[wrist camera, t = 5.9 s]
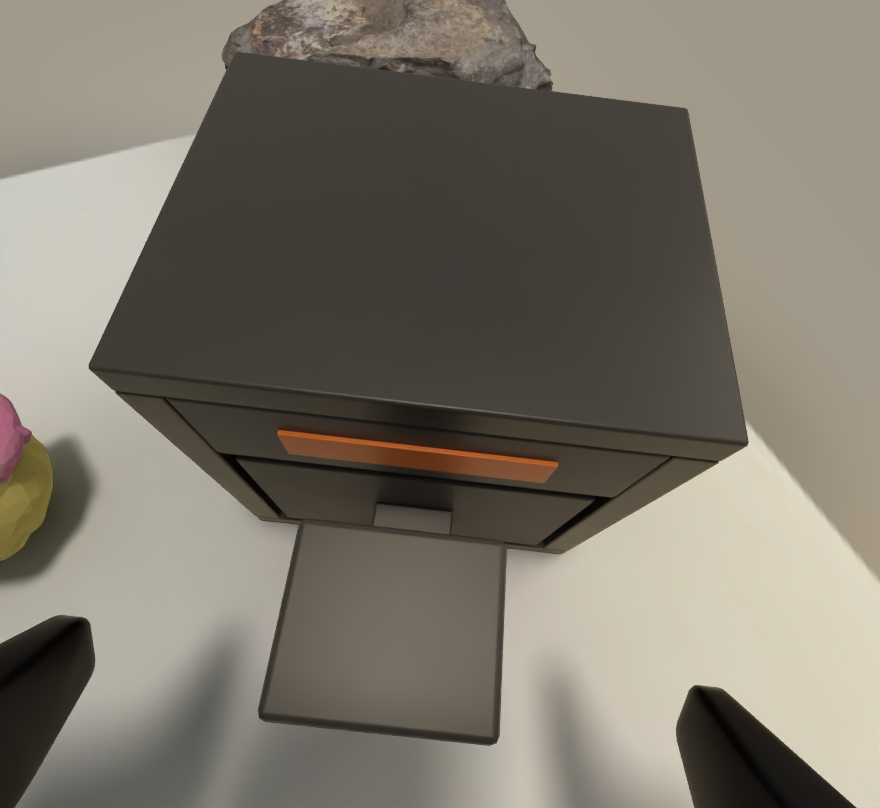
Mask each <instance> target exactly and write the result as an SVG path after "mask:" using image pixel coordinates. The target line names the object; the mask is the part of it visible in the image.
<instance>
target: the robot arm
mask: <svg viewBox="0 0 880 808" xmlns="http://www.w3.org/2000/svg"><path fill="white" fill-rule="evenodd" d="M94 667H95V653H94V646H93V639H92V632H91V626H90V623H89V621H88V620H87V619H86V618H83V617H75V616H66V615H58V616H54V617H52V618H50V619H48V620H46V621H44V622H42V623H40V624H38V625H36V626H34V627H32V628H30V629H28V630H26V631H24V632H22V633H20V634H18V635H16V636H14V637H13V638H11V639H9V640H7V641H5V642H3V643H1V644H0V808H15V806H16V805H17V803H18V802H19V800H20V799H21V797H22V796H23V794H24V793H25V791H26V789H27V788H28V786H29V784H30V783H31V781H32V779H33V778H34V776H35V774H36V773H37V771H38V769H39V767H40V766H41V764H42V762H43V760H44V759H45V757H46V755H47V753H48V752H49V750H50V748H51V746H52V745H53V743H54V741H55V739H56V738H57V736H58V734H59V732H60V731H61V729H62V727H63V725H64V724H65V722H66V720H67V718H68V717H69V715H70V713H71V711H72V710H73V708H74V706H75V704H76V702H77V701H78V699H79V697H80V695H81V694H82V692H83V690H84V688H85V687H86V685H87V683H88V681H89V680H90V678H91V676H92V673H93V670H94ZM676 737H677V743H678V747H679V751H680V754H681V758H682V762H683V766H684V770H685V773H686V777H687V781H688V785H689V789H690V793H691V796H692V800H693V804H694V808H856V807H855V806H854V805H853V804H852V803H850V802H849V801H848V800H847V799H846V798H845V797H844V796H843V795H841V794H840V793H839V792H838V791H837V790H836V789H835V788H834V787H833V786H831V785H830V784H829V783H828V782H827V781H826V780H825V779H824V778H822V777H821V776H820V775H819V774H818V773H817V772H816V771H815V770H813V769H812V768H811V767H810V766H809V765H808V764H807V763H806V762H804V761H803V760H802V759H801V758H800V757H799V756H798V755H797V754H795V753H794V752H793V751H792V750H791V749H790V748H789V747H788V746H786V745H785V744H784V743H783V742H782V741H781V740H780V739H779V738H778V737H776V736H775V735H774V734H773V733H772V732H771V731H770V730H769V729H767V728H766V727H765V726H764V725H763V724H762V723H761V722H760V721H758V720H757V719H756V718H755V717H754V716H753V715H752V714H751V713H749V712H748V711H747V710H746V709H745V708H744V707H743V706H742V705H740V704H739V703H738V702H737V701H736V700H735V699H734V698H733V697H731V696H730V695H729V694H728V693H727V692H726V691H724V690H723V689H720V688H717V687H709V686H700V685H695V686H693V687H692V688H691V689H690V690H689V692H688V695H687V697H686V700H685V703H684V705H683V708H682V711H681V713H680V716H679V719H678V721H677V726H676Z"/></svg>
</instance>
